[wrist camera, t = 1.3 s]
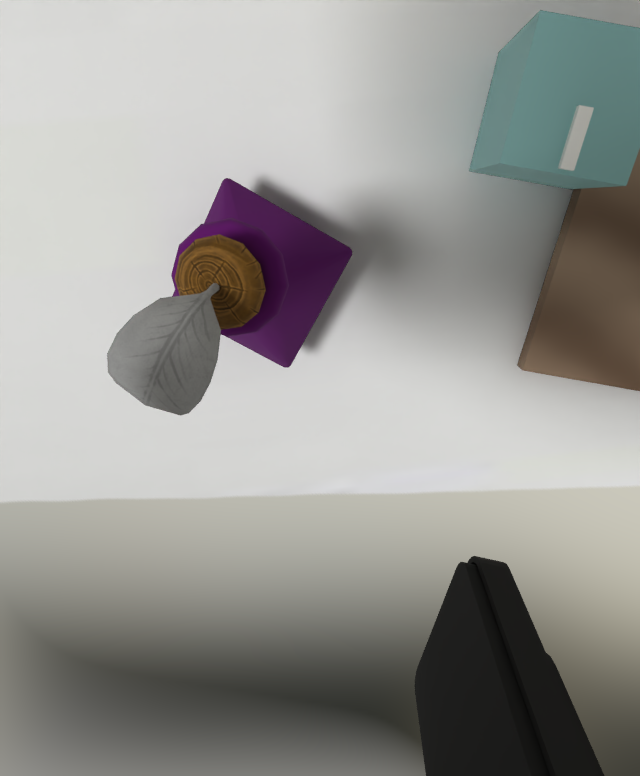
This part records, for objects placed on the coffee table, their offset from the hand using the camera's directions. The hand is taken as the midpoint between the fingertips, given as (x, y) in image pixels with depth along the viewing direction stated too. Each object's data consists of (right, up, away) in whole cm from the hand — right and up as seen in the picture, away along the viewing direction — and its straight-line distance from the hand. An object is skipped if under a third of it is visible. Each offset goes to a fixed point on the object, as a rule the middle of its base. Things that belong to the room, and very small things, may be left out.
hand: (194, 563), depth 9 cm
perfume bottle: (-1, +10, +21) cm, 24 cm away
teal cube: (+14, +17, +18) cm, 28 cm away
